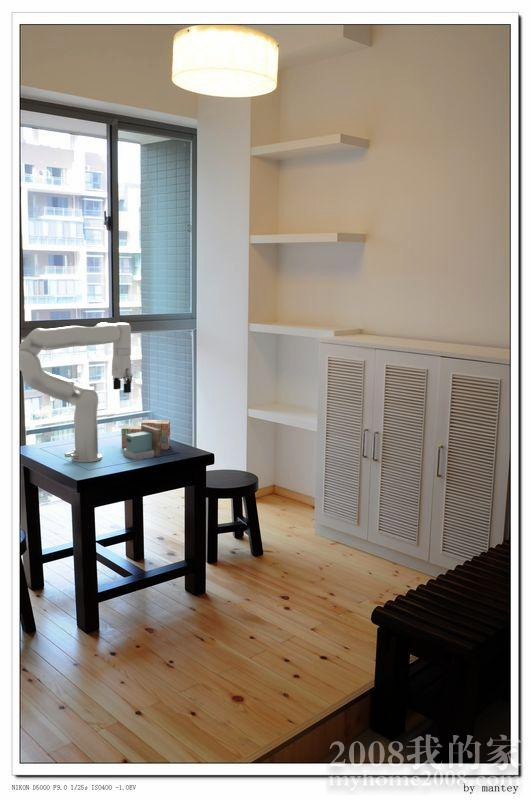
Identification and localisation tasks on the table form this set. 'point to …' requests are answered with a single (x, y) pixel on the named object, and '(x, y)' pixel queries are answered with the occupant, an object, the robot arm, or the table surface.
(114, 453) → the table surface
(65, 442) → the table surface
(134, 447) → the teal cabinet
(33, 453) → the table surface
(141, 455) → the wooden bookend
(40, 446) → the table surface
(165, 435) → the stack of blocks
